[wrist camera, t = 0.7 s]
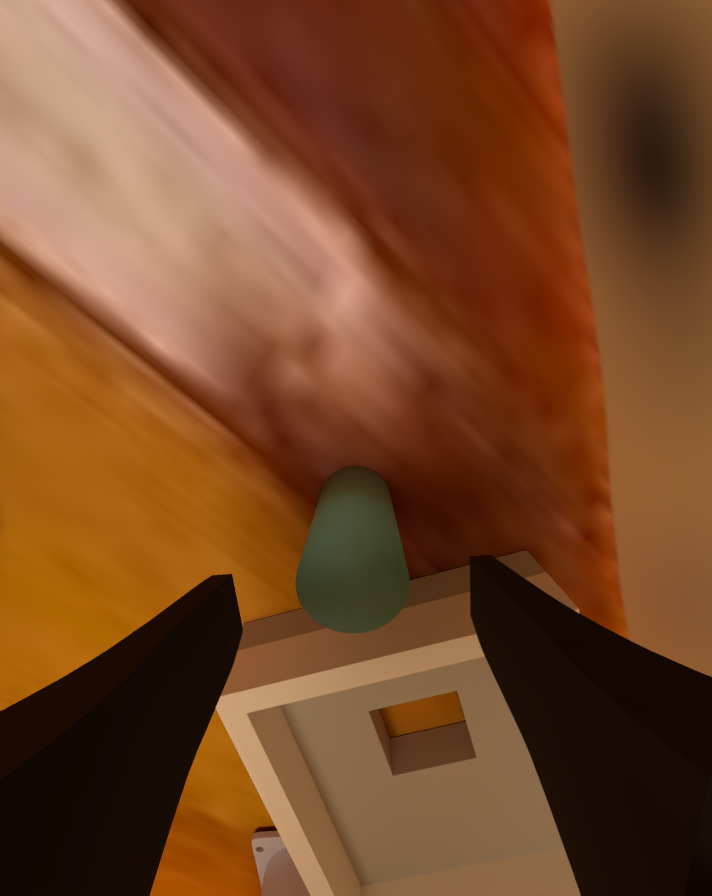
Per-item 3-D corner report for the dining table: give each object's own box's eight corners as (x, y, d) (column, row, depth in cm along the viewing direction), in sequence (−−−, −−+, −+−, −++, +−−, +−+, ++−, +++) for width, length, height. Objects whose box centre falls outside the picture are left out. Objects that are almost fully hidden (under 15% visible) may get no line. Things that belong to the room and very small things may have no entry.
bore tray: (581, 812, 23) (634, 918, 18) (349, 858, 24) (347, 968, 20) (526, 550, 18) (579, 608, 14) (243, 623, 20) (210, 698, 15)
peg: (392, 529, 18) (412, 629, 11) (324, 534, 18) (303, 637, 11) (388, 463, 17) (406, 529, 10) (316, 469, 17) (288, 538, 11)
